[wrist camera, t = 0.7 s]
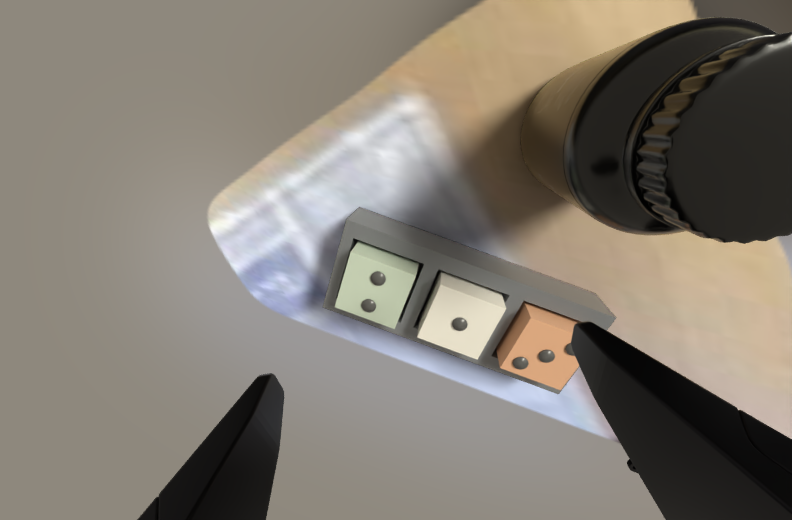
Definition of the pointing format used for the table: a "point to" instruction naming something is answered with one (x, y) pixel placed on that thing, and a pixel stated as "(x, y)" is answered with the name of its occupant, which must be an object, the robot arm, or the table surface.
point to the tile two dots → (376, 284)
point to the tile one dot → (460, 314)
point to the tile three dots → (539, 346)
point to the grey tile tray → (464, 264)
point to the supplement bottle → (674, 133)
